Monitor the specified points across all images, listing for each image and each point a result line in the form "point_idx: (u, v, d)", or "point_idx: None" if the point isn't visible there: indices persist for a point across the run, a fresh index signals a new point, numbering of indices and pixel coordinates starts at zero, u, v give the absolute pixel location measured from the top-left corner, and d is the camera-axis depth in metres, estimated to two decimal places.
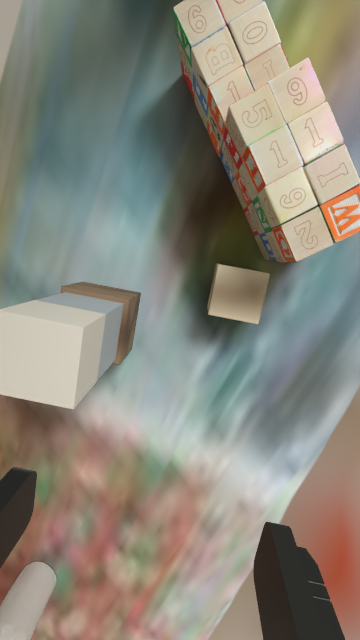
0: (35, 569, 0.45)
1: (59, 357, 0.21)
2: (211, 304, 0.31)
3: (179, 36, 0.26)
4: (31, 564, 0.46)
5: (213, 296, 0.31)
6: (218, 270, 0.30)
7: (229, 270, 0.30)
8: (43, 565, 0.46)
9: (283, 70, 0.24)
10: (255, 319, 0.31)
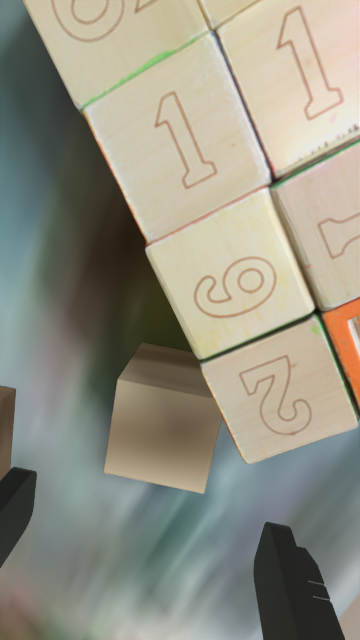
0: None
1: None
2: (108, 454, 0.15)
3: None
4: None
5: (111, 440, 0.15)
6: (118, 391, 0.15)
7: (140, 393, 0.14)
8: None
9: None
10: (198, 485, 0.15)
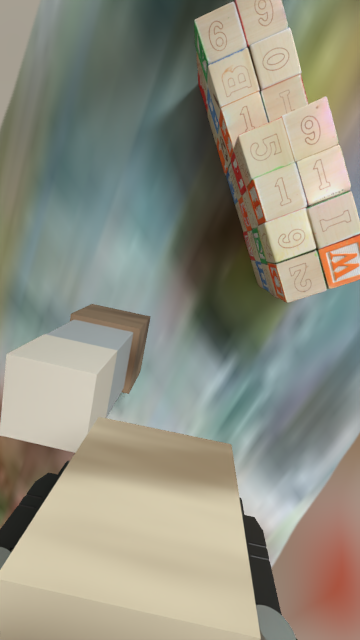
0: None
1: (71, 402, 0.21)
2: None
3: (198, 49, 0.25)
4: None
5: None
6: None
7: (53, 609, 0.06)
8: None
9: (300, 102, 0.23)
10: None
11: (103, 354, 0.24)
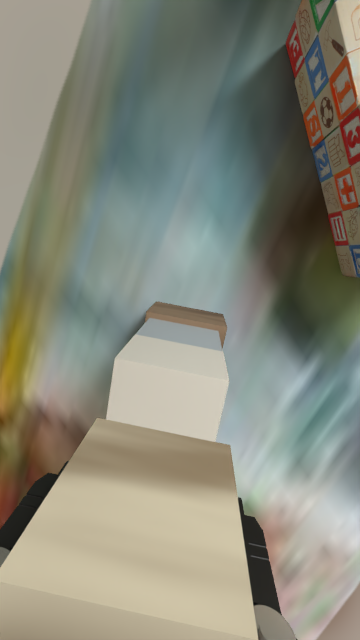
0: None
1: (194, 417, 0.17)
2: None
3: None
4: None
5: None
6: None
7: (50, 611, 0.06)
8: None
9: None
10: None
11: (213, 356, 0.20)
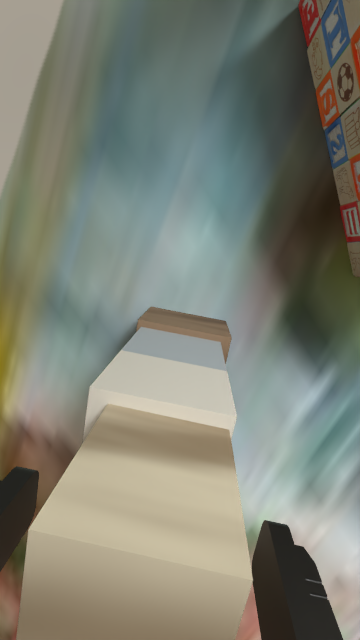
0: None
1: None
2: None
3: None
4: None
5: (22, 638, 0.08)
6: (30, 552, 0.07)
7: (77, 556, 0.07)
8: None
9: None
10: None
11: (216, 379, 0.16)
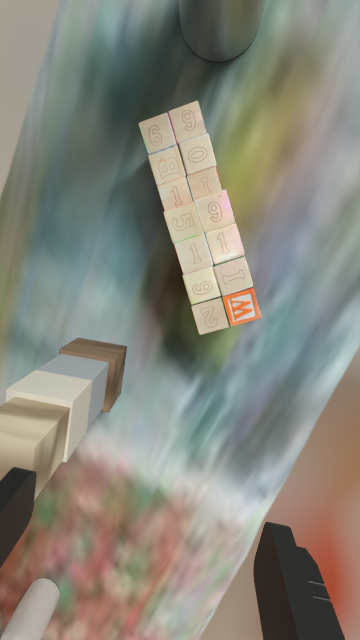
0: (41, 585, 0.51)
1: None
2: None
3: None
4: (37, 580, 0.52)
5: None
6: None
7: None
8: (48, 581, 0.52)
9: (215, 186, 0.31)
10: None
11: (80, 384, 0.31)
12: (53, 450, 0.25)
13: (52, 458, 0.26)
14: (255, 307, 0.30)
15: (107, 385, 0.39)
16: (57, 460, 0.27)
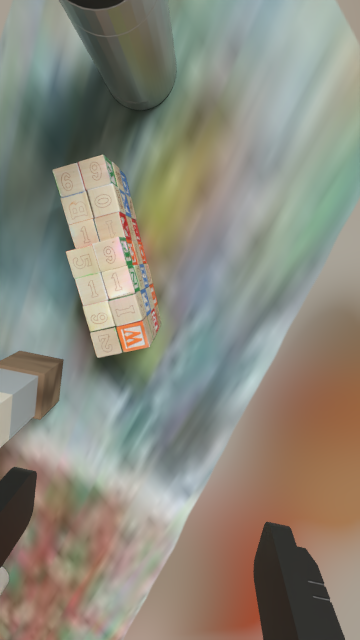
0: None
1: None
2: None
3: None
4: None
5: None
6: None
7: None
8: None
9: (118, 229, 0.35)
10: None
11: None
12: None
13: None
14: (144, 337, 0.35)
15: (38, 396, 0.44)
16: None
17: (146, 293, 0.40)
